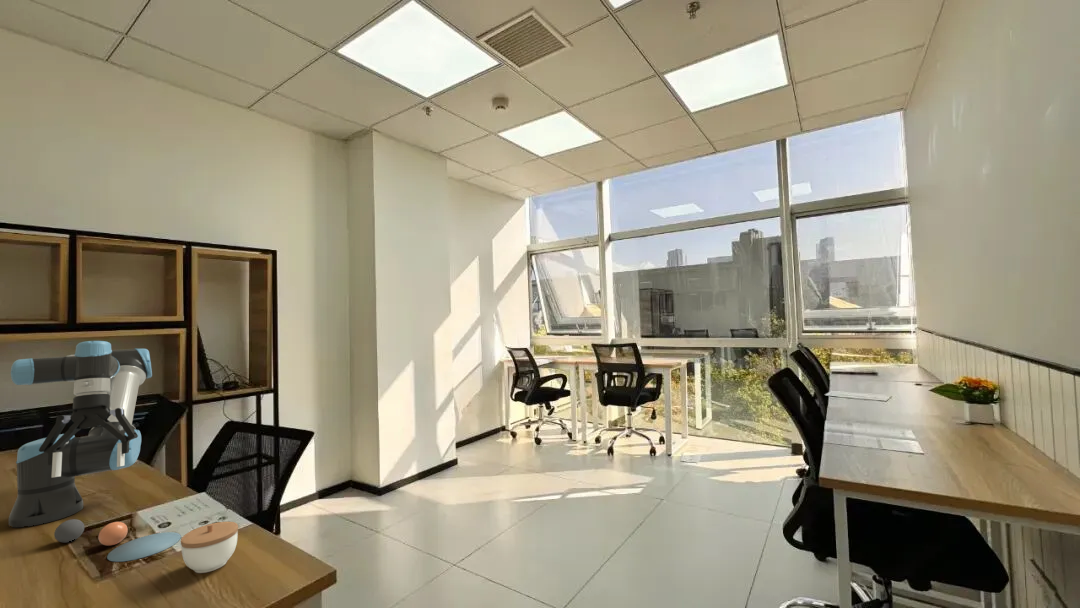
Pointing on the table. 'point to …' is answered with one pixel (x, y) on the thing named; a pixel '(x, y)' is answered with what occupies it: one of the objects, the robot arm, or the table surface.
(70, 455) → the robot arm
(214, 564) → the lidded jar
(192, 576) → the table surface
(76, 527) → the charcoal ball
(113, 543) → the terracotta ball
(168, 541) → the slate mark
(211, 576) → the table surface
